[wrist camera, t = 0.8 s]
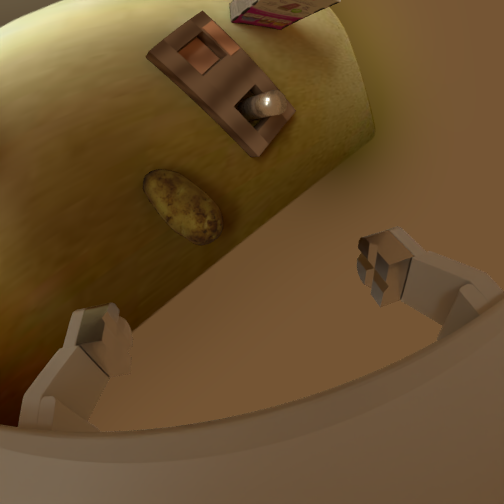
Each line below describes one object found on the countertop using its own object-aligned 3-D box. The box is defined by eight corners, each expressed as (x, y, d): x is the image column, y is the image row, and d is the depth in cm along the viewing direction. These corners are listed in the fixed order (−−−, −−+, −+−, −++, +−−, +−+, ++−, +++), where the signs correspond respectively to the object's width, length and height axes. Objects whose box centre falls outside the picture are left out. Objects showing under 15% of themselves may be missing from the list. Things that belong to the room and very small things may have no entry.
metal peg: (233, 109, 44) (260, 100, 37) (247, 94, 44) (275, 84, 38) (249, 125, 46) (277, 119, 40) (262, 110, 46) (291, 103, 40)
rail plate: (145, 57, 33) (149, 50, 31) (196, 16, 35) (203, 10, 33) (250, 156, 48) (259, 156, 46) (287, 112, 49) (296, 110, 47)
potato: (181, 152, 41) (201, 149, 35) (214, 222, 48) (238, 232, 41) (134, 178, 39) (144, 180, 32) (172, 249, 45) (189, 264, 38)
